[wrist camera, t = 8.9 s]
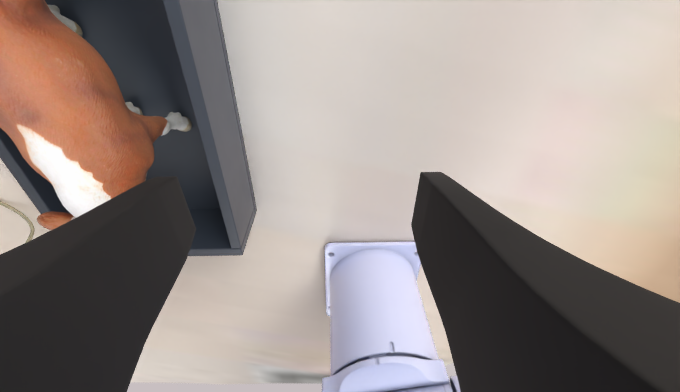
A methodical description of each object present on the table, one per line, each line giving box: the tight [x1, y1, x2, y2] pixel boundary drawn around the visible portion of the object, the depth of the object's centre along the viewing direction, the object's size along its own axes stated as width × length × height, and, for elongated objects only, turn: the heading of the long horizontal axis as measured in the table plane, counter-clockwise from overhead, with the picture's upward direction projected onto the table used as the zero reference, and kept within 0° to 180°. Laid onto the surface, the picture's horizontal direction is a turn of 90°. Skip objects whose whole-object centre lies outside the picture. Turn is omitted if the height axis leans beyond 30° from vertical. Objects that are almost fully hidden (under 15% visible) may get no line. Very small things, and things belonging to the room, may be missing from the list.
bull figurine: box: [0, 0, 192, 230], centre depth 13 cm, size 4×13×8 cm, turn 11°
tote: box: [0, 0, 257, 256], centre depth 15 cm, size 18×10×4 cm, turn 179°
